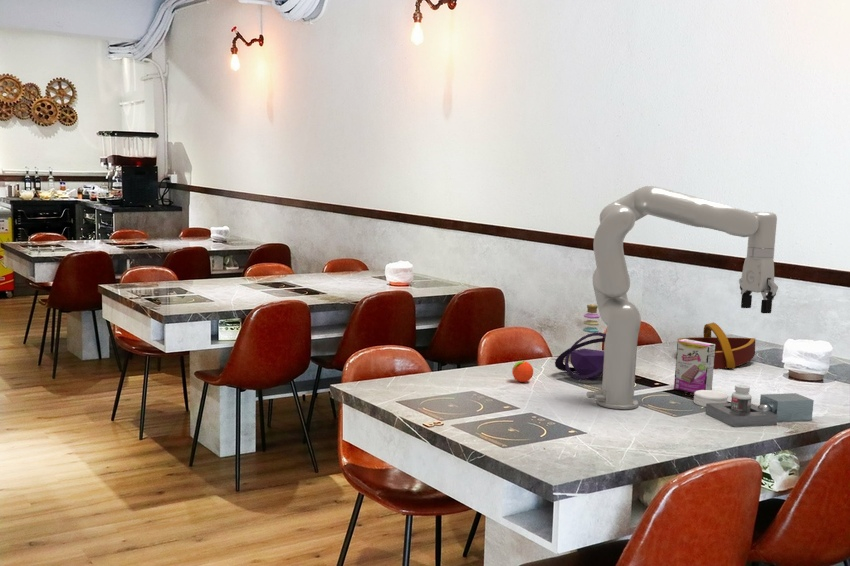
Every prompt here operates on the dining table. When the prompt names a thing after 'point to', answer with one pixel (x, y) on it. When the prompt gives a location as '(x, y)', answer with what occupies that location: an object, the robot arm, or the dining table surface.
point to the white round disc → (709, 397)
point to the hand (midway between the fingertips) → (755, 310)
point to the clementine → (522, 371)
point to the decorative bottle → (584, 352)
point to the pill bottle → (741, 399)
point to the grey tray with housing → (765, 410)
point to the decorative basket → (727, 347)
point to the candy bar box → (694, 365)
